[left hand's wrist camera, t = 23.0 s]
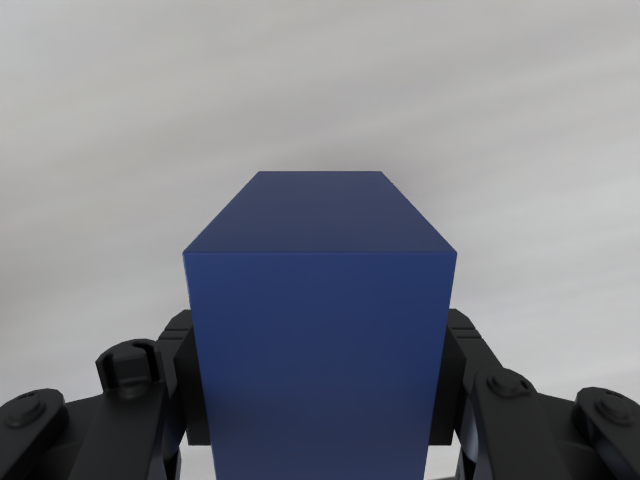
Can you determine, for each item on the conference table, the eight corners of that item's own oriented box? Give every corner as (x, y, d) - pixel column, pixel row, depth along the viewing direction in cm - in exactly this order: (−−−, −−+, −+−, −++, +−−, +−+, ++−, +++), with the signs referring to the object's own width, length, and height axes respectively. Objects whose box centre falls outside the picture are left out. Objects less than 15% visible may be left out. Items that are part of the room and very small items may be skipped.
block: (371, 337, 18) (415, 536, 10) (268, 337, 18) (223, 536, 10) (381, 171, 15) (458, 252, 7) (258, 171, 15) (180, 252, 7)
